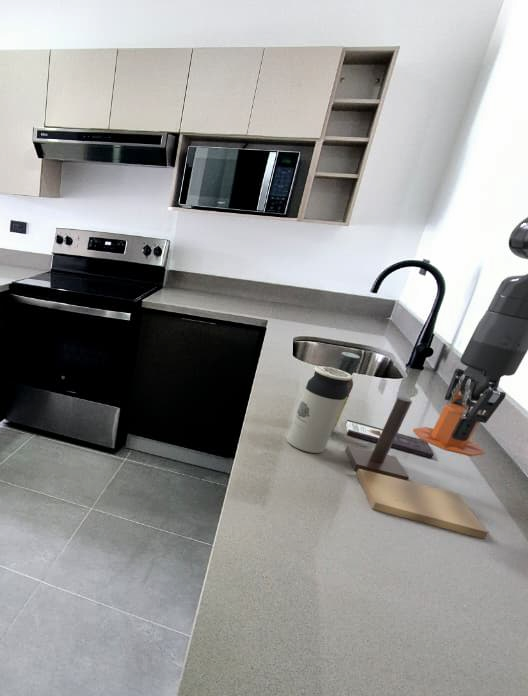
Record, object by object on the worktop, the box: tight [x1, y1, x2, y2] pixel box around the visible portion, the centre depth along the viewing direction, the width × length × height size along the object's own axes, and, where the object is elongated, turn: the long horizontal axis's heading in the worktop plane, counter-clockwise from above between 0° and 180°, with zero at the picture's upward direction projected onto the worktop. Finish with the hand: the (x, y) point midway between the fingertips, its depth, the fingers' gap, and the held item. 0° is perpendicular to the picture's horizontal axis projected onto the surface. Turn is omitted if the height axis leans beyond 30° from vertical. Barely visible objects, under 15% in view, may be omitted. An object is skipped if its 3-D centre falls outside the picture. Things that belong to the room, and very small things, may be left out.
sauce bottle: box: [331, 351, 361, 434], centre depth 121 cm, size 7×6×20 cm
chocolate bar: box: [345, 419, 434, 459], centre depth 124 cm, size 9×1×18 cm
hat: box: [412, 403, 485, 458], centre depth 89 cm, size 10×10×6 cm
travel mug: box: [286, 365, 353, 454], centre depth 111 cm, size 8×8×18 cm
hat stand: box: [344, 396, 413, 481], centre depth 106 cm, size 10×10×16 cm
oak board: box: [355, 469, 489, 540], centre depth 96 cm, size 18×14×2 cm
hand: (452, 432), depth 90 cm, fingers closed on hat, 5 cm apart
